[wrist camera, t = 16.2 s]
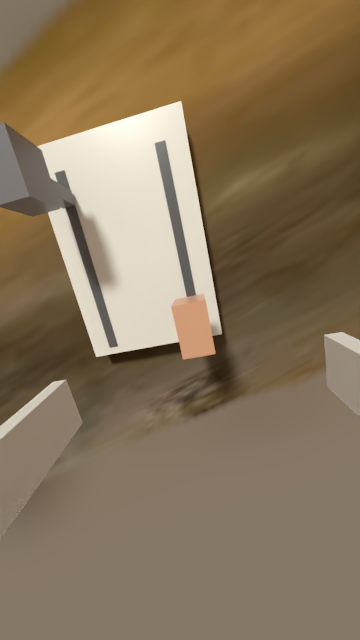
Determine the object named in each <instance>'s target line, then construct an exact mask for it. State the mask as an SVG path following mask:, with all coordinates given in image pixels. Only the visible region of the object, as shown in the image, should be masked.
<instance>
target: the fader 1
mask: <svg viewBox="0 0 360 640" xmlns="http://www.w3.org/2000/svg"><path fill="white" fill-rule="evenodd" d="M72 206H75V201H74V198H73V195H72V191H71V190H69V189H68V188H66V187H64V186H63V185H61V184H59V183H58V182H56V181H54V180H53V179H51V178H50V175H49V172H48V169H47V166H46V162H45V159H44V156H43V153H42V150H41V149H39V148H38V147H37V146H35V145H34V144H33V143H31V142H30V141H29V140H27V139H26V138H24V137H23V136H22V135H20V134H19V133H18V132H16V131H15V130H14V129H12V128H11V127H10V126H8V125H7V124H6V123H4V122H3V123H0V207H2V208H6V209H9V210H12V211H16V212H19V213H23V214H26V215H30V216H36V215H40V214H43V213H47V212H51V211H54V210H58V209H60V208H63V209H64V208H68V207H72Z"/></svg>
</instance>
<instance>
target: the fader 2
mask: <svg viewBox="0 0 360 640" xmlns="http://www.w3.org/2000/svg"><path fill="white" fill-rule="evenodd" d="M171 309H172V313H173V318H174V322H175V326H176V331H177V335H178V339H179V344H180V348H181V352H182V357H183V359H189V358H195V357H201V356H207V355H212V354H216V353H215V347H214V342H213V337H212V332H211V326H210V321H209V316H208V310H207V305H206V300H205V297H204V294H199V295H194V296H189V297H184V298H179V299H175V300H174V302H173V304H172V306H171Z"/></svg>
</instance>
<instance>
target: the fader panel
mask: <svg viewBox="0 0 360 640" xmlns="http://www.w3.org/2000/svg"><path fill="white" fill-rule="evenodd" d="M37 147H38V148H39V149H41V150H42V153H43V156H44V159H45V162H46V166H47V169H48V172H49V175H50V178H51V179H53V180H54V181H56V182H58V183H59V184H61V185H63V186H64V187H66V188H68V189H69V190H71V191H72V195H73V198H74V201H75V206H72V207H68V208H64V209H63V208H60V209H58V210H54V211H51V212H48V214H49V217H50V220H51V223H52V226H53V229H54V232H55V235H56V238H57V241H58V244H59V247H60V250H61V253H62V256H63V259H64V262H65V265H66V268H67V271H68V274H69V277H70V280H71V283H72V286H73V289H74V292H75V295H76V298H77V301H78V304H79V307H80V310H81V313H82V316H83V319H84V322H85V325H86V328H87V331H88V334H89V337H90V340H91V343H92V346H93V349H94V352H95V355H96V357H99V356H104V355H110V354H115V353H121V352H126V351H132V350H137V349H143V348H148V347H154V346H159V345H165V344H170V343H176V342H179V339H178V335H177V331H176V326H175V322H174V318H173V313H172V309H171V306H172V304H173V302H174V300H175V299H179V298H184V297H189V296H194V295H199V294H204V297H205V300H206V305H207V310H208V316H209V321H210V326H211V332H212V336H214V335H220V334H222V330H221V324H220V319H219V313H218V307H217V302H216V296H215V290H214V285H213V279H212V273H211V268H210V262H209V256H208V251H207V245H206V239H205V234H204V228H203V222H202V217H201V211H200V205H199V200H198V194H197V188H196V183H195V177H194V171H193V166H192V160H191V154H190V149H189V143H188V137H187V132H186V126H185V120H184V115H183V109H182V104H181V101H179V102H176V103H173V104H170V105H167V106H164V107H160V108H157V109H154V110H151V111H148V112H145V113H141V114H138V115H135V116H132V117H129V118H126V119H122V120H119V121H116V122H113V123H110V124H107V125H103V126H100V127H97V128H94V129H91V130H88V131H84V132H81V133H78V134H75V135H72V136H69V137H65V138H62V139H59V140H56V141H53V142H50V143H46V144H43V145H40V146H37Z"/></svg>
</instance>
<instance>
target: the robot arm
mask: <svg viewBox="0 0 360 640" xmlns="http://www.w3.org/2000/svg"><path fill="white" fill-rule="evenodd" d="M324 339H325V357H326V375H327V387H328V388H329V389H330V390H331V391H333V393H334V394H336V395H337V396H338V397H339V398H340V399H341V400H342V401H343V402H344V403H345V404H346V405H347V406H348V407H350V408H351V409H352V410H353V411H354V412H355V413H356V414H357V415H358V416H359V417H360V340H358V339H356V338H354V337H352V336H349V335H347V334H345V333H343V332H339V333H333V334H327V335H324ZM82 423H83V422H82V420H81V417H80V415H79V412H78V409H77V407H76V404H75V402H74V399H73V396H72V394H71V391H70V389H69V386H68V383H67V381H66V380H61V381H56V382H52V383H51V384H50V385H49V386H48V387H46V388H45V389H44V390H43V391H42V392H41V393H39V394H38V395H37V396H36V397H35V398H33V399H32V400H31V401H30V402H29V403H27V404H26V405H25V406H24V407H23V408H21V409H20V410H19V411H18V412H17V413H16V414H14V415H13V416H12V417H11V418H10V419H8V420H7V421H6V422H5V423H4V424H2V425H1V426H0V540H1V539H2V537H3V536H4V534H5V533H6V531H7V530H8V529H9V527H10V526H11V524H12V523H13V521H14V520H15V519H16V517H17V516H18V514H19V513H20V511H21V510H22V509H23V507H24V505H25V504H26V503H27V501H28V500H29V499H30V497H31V496H32V494H33V493H34V491H35V490H36V489H37V487H38V486H39V484H40V483H41V481H42V480H43V479H44V477H45V476H46V474H47V473H48V471H49V470H50V469H51V467H52V466H53V464H54V463H55V461H56V460H57V459H58V457H59V456H60V454H61V453H62V451H63V450H64V449H65V447H66V446H67V444H68V443H69V441H70V440H71V439H72V437H73V436H74V434H75V433H76V431H77V430H78V429H79V427H80V426H81V424H82Z"/></svg>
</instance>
